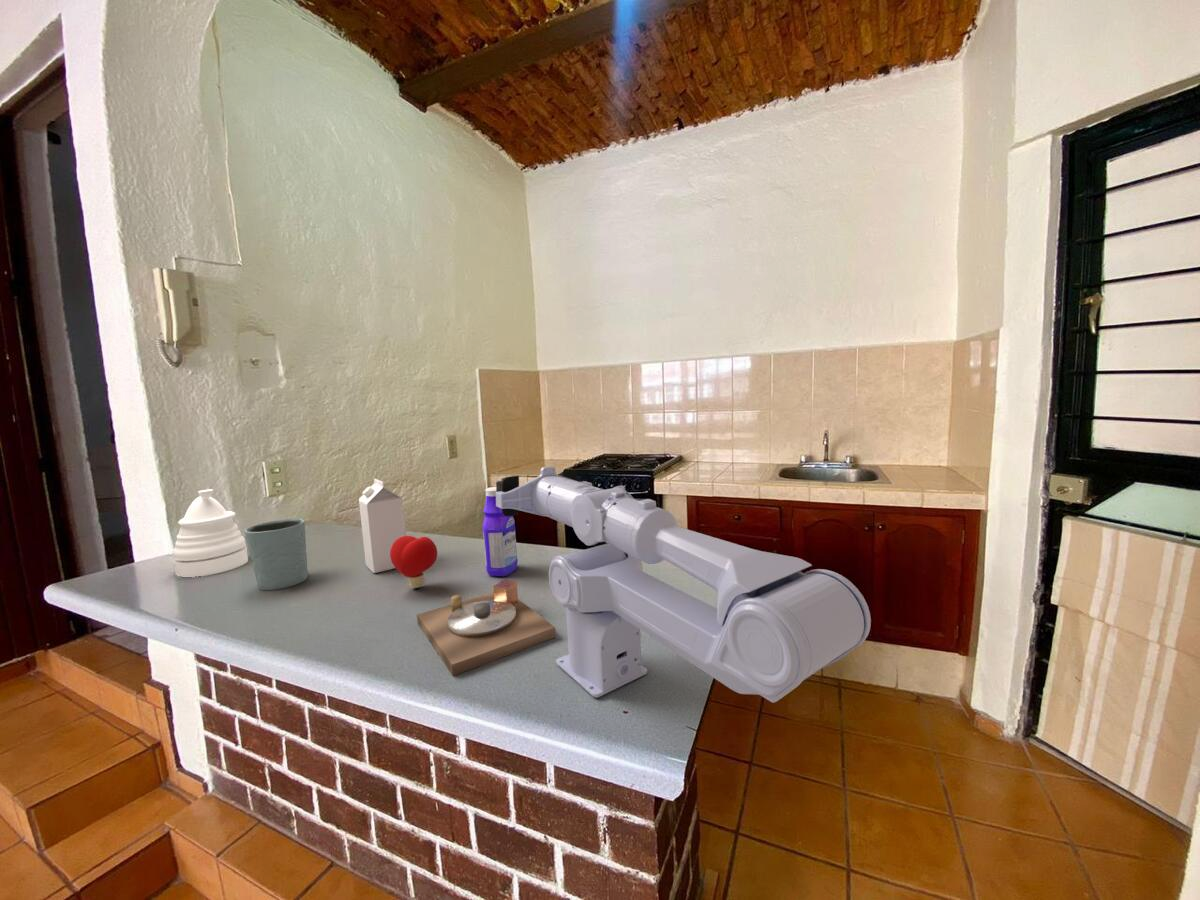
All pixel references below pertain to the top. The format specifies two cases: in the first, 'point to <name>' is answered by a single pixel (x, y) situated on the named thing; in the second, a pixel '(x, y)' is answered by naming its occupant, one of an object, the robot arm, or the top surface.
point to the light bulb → (413, 558)
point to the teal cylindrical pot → (278, 553)
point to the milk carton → (380, 525)
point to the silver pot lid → (496, 621)
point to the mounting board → (482, 649)
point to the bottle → (498, 538)
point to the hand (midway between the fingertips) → (521, 485)
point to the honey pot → (208, 539)
